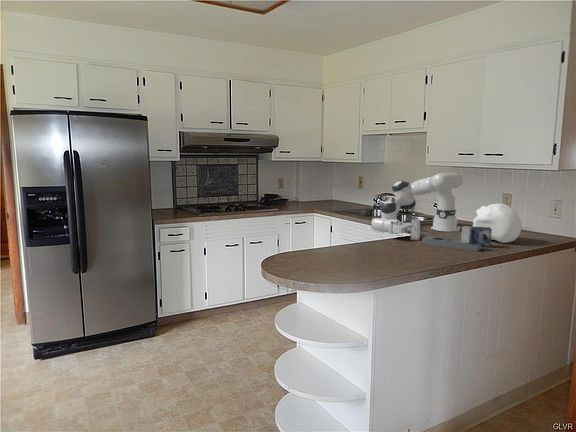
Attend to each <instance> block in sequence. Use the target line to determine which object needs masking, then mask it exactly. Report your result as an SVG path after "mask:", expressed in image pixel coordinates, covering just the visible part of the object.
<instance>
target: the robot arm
mask: <svg viewBox="0 0 576 432" xmlns="http://www.w3.org/2000/svg"><path fill="white" fill-rule="evenodd" d="M463 181H464V178H463V176H462V175H461V174H460V173H457V172H454V171H453V172H439V173H436V174H435V175H433V176H429V177H428V176H427V177H425V178H421V179H418V180H415V181H413V182H412V183H410V182H408V181H404V180H400V181H396V182H395V183H393V184H392V187H391V189H392V192H393V193H394V195H390V196H389V197H386V199H385V200H384V201H383V202H381V204H380V205H379V209H380V214H381V217H374V218H372V220H371V221H370V225H371V229H372V231H374V232H378V233H379V232H380V233H388V234H390V235H393V234H394V235H398V234H404V233H408V232H411V231H416V228H411V222H402V221H400V219H398V218H397V216H398V215H397V214H398V213H399V212H400V211H401V210H404V211H409V210H412V209H413V208H415V207H416V205H417V202H416V199H415V197H414V196H422V195H423V196H424V195H427V194H428V195H429V194H433V193H436V197H437V203H436V206H437V208H436V211H435V216H434V217H433V223H432V226H431V227H430V230H431V229H432V230H435V231H438V232H439V231H440V232H460V230H462V227H461V226H459V224H458V223H459V220H458V218H457V216H456V212H457V209H455V207H456V197H455V196H454V195H453V192H452V190H454V189H457V188H459V187H461V186H462V185H463V183H464V182H463Z"/></svg>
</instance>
